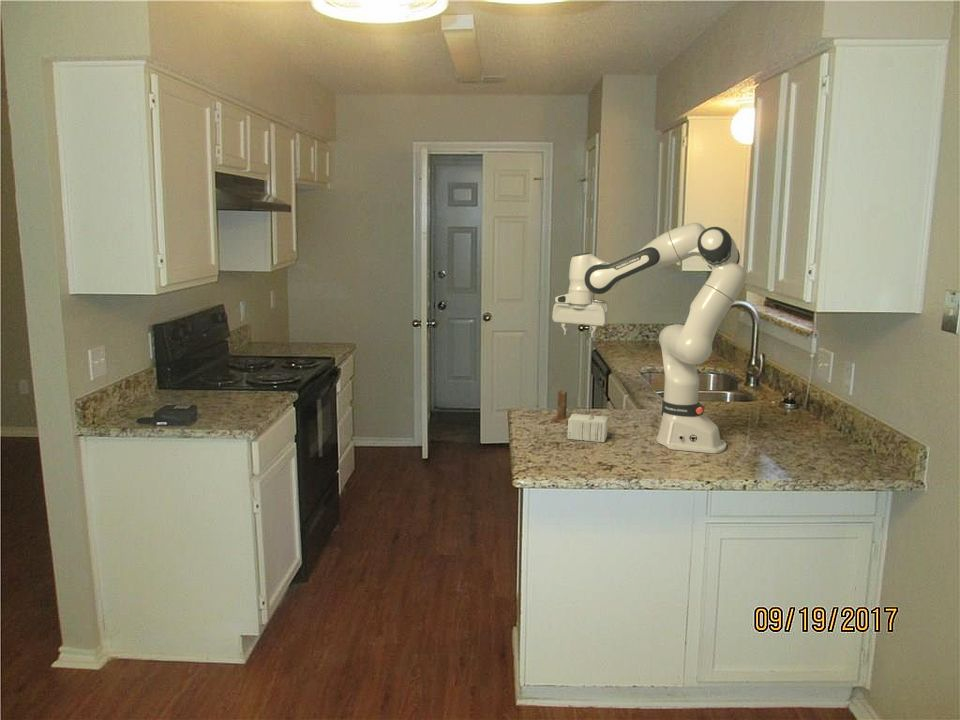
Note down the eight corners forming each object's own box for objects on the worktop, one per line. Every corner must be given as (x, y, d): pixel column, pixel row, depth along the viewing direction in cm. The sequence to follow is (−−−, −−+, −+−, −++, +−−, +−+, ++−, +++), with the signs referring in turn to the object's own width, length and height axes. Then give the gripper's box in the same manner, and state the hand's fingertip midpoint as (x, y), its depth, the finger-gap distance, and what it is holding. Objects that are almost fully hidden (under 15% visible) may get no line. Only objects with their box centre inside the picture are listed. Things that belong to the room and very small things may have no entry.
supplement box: (571, 413, 258) (608, 416, 255) (570, 433, 260) (607, 437, 256) (568, 418, 251) (606, 421, 248) (567, 439, 253) (604, 443, 249)
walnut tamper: (572, 421, 275) (573, 390, 273) (566, 425, 270) (567, 394, 268) (556, 419, 278) (557, 388, 276) (550, 423, 273) (551, 392, 270)
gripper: (611, 299, 267) (609, 337, 270) (557, 295, 277) (556, 332, 279) (605, 301, 262) (603, 340, 264) (551, 297, 271) (550, 335, 274)
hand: (579, 336), depth 272 cm, fingers open, 8 cm apart
